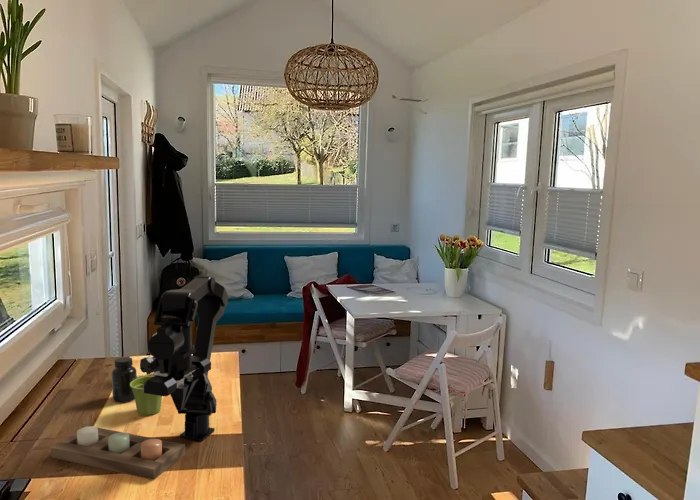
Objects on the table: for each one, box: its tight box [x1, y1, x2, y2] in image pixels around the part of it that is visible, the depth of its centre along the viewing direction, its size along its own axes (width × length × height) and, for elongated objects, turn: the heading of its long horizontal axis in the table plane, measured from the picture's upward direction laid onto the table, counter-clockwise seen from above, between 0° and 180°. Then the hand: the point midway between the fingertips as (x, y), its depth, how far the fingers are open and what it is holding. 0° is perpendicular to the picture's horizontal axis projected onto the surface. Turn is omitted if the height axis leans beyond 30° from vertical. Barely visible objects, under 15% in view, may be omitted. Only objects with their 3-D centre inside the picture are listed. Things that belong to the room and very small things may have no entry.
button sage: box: [108, 431, 130, 454], centre depth 133 cm, size 5×5×4 cm
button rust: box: [141, 438, 162, 461], centre depth 130 cm, size 5×5×4 cm
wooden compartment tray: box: [50, 425, 186, 481], centre depth 133 cm, size 12×28×2 cm, turn 73°
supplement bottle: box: [111, 356, 138, 404], centre depth 165 cm, size 7×7×12 cm
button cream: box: [76, 425, 99, 447], centre depth 135 cm, size 5×5×4 cm
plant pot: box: [130, 375, 163, 417], centre depth 157 cm, size 9×9×9 cm
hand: (179, 410), depth 131 cm, fingers closed
